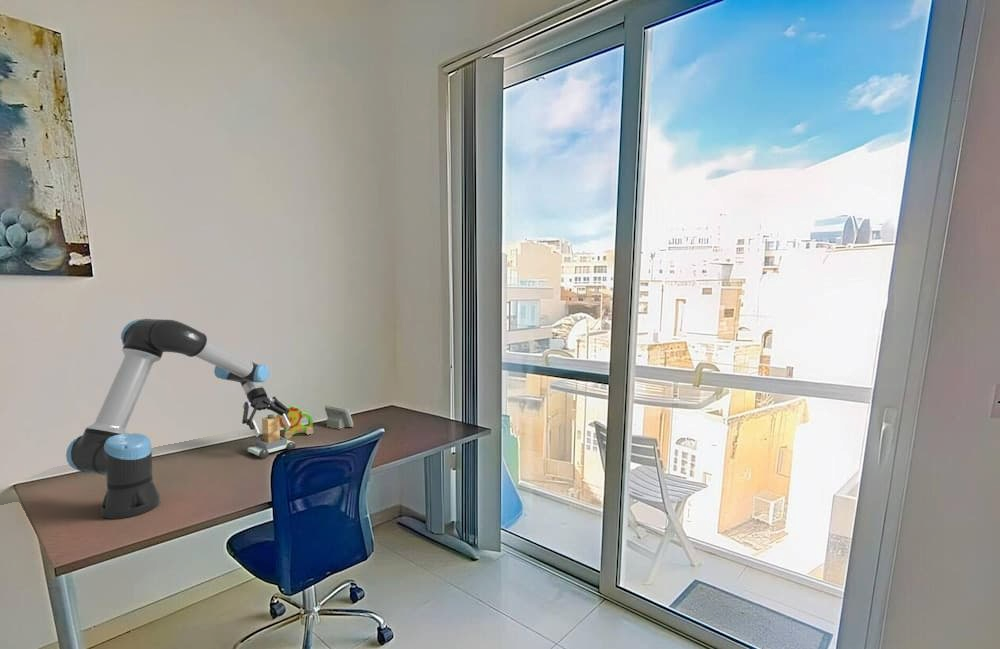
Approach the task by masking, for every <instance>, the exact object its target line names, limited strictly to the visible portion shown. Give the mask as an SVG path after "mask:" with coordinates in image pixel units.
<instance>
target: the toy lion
mask: <svg viewBox="0 0 1000 649" xmlns="http://www.w3.org/2000/svg"><path fill="white" fill-rule="evenodd" d="M286 407H287V408H288V409H289V410H290V411H289V413H288V414H287V415H288V417H289V423H290V425H291V426H290V427H289V429H287V428H286V426H285V424H284V422H283V420H282V418H281V417H282V416H281V415H279V414H277V415H276V417H279V424H280V428H282V429H283V430H282V431H281V437H282V436H283V438H286V439H287V440H290V439H291V438H293V436H294V435H296V434H298V433H305V434H306V435H308V436H310V435H309V434H311V435H312V434H314V428H313V427H314V426H313V425H314V424H313V418H312V416H311V415H310V414H309V413H307V412H305V411H304V412H303V411H302V409H300V408H299V407H298V406H294V405H288V406H286ZM303 418H307V420H308V424H307V425H304V424H303V423H301V420H302V419H303Z"/></svg>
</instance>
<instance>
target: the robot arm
mask: <svg viewBox="0 0 1000 649" xmlns="http://www.w3.org/2000/svg"><path fill="white" fill-rule="evenodd" d="M120 340H121V343H122V345H123V347H122V348H121V351H122V353H123V355H124V358H123V359H122V362H121V364H120V366H119V368H118V371H117V372H116V375H115V376H114V379H113V382H112V383H111V386H110V388H109V390H108V392H107V395H106V397H105V399H104V401H103V403H102V405H101V408H100V410H99V412H98V414H97V417H96V418H95V420H94V423H93V424H91V425H89V426H87V427H85V429H84V431H83V434H82V435H79V436H78V437H77V438H75V439H73V440H72V441H71V442H70V443H69V445H68V447H67V448H66V453H65V457H66V462H67V463H68V465H69V466H70V467H71V468H72V469H74V470H76V471H80V472H82V473H86V474H87V473H88V474H95V475H103V476H106V491H105V494H104V498H103V502H102V503H101V507H100V513H101V514H100V515H101V516H102V518H104V519H108V520H110V519H111V520H115V519H116V520H117V519H125V518H131V517H134V516H138V515H143V514H145V513H147V512H149V511H151V510H153V509H156V507H158V506H159V505H160V504H161V495H160V493H159V491H158V489H157V486H156V484H155V482H154V481H153V480H154V479H153V478H154V477H153V458H152V457H153V456H152V454H153V453H152V452H153V451H152V450H153V447H152V444H151V439H150V438H149V436H147V435H145V434H141V433H128V432H127V430H126V428H127V426H128V423H129V421H130V419H131V416H132V414H133V411H134V409H135V407H136V404H137V403H138V400H139V398H140V395H141V393H142V391H143V388H144V386H145V383H146V382H147V378H148V376H149V374H150V371H151V369H152V367H153V365H154V364H155V363H156V362H158V361H160V360H161V359H162V356H163V354H164V353H176V354H181V355H184V356H187V357H190V358H194V357H196V358H199V359H200V360H203V361H205V362H208V363H210V364H211V365H214V370H213V373H214V376H215V377H216V378H217V379H221V380H225V381H231V382H236V383H240V385H241V387H242V389H243V391H244V394H245V395H246V397H247V400H248V401H245V402H244V403H243V405H242V407H243V415H242V420H241V423H242V424H243V425H244V424H246V426H248V427H249V429H250V431H253V433H254V436H255V437H259V435H260V434H261V432H260V430H259V428H258V425H257V423H256V420H253V419H254V416H255V414H256V413H257V411H259V412H260V411H263V410H264V411H265V410H268V411H272V412H274V413H276V414H277V415H278V414H279V415H281V416H282V417H281V418H282V420H283V422H284V424H285V426H286V428H287V429H289V427H290V426H291V425H290V423H289V417H288V415H287V414H288V413H289V411H290V410H289V409H288V408H287V407H288V406H285V405H284V404H283V403H282V402H281V401H279V400H278V399H277V397H276V396H272V397H271V398H269V396H268V395H267V392H266V390H265V388H264V386H263V383H264V382H266V381H267V380H268V379H269V377H270V368H269V367H268V366H267V365H266V364H260V363H259V364H257V363H255V362H253V361H251V360H249V359H247V358H246V357H243V356H241V355H239V354H238V353H235V352H233V351H231V350H229V349H228V348H226V347H225V346H222V345H220V344H219V343H216V342H214V341H212V340H210V339H209V338H208V336H207V335H206V333H204V332H201V331H199V330H198V329H195V328H193V327H191V326H190V325H188V324H185V323H183V322H181V321H178V320H174V319H154V318H142V319H141V318H140V319H134V320H132V321H130V322H128V324H126V325H125V326H124V327H123V329H122V331H121V334H120ZM250 407H252V408H253V410H252V412H251V414H250V416H249V408H250ZM248 416H249V418H248Z"/></svg>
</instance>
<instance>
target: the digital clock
mask: <svg viewBox="0 0 1000 649" xmlns="http://www.w3.org/2000/svg"><path fill="white" fill-rule="evenodd" d="M324 410H325V413H326V416H327V418H326V428H328V427H331V428H330V429H333V428H337V429H336V430H338V429H340V428H343V427H346V428H348V427H352V428H354V422H353V419H352V415H351V413H350V409H349V408H344V407H341V406H334V405H325V406H324ZM343 429H344V428H343Z"/></svg>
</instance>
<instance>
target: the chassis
mask: <svg viewBox="0 0 1000 649" xmlns="http://www.w3.org/2000/svg"><path fill="white" fill-rule="evenodd" d="M292 448H294V449H296V443H295V441H292V440H290V439H286V438H285V437H282V436H280V440H278V441H274V442H270V443H266V442H263V437H261V438H258V439H256V440H255V444H250V445H249V446H248V447H247V448H246V450H247V453H249V454H251V453H252V454H253V455H255V456H258V457H259V458H260V459H263V458H264V459H266V458H268V456H269V454H270V453H273V452H277V451H280V450H284V449H286V450H287V449H292Z"/></svg>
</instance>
